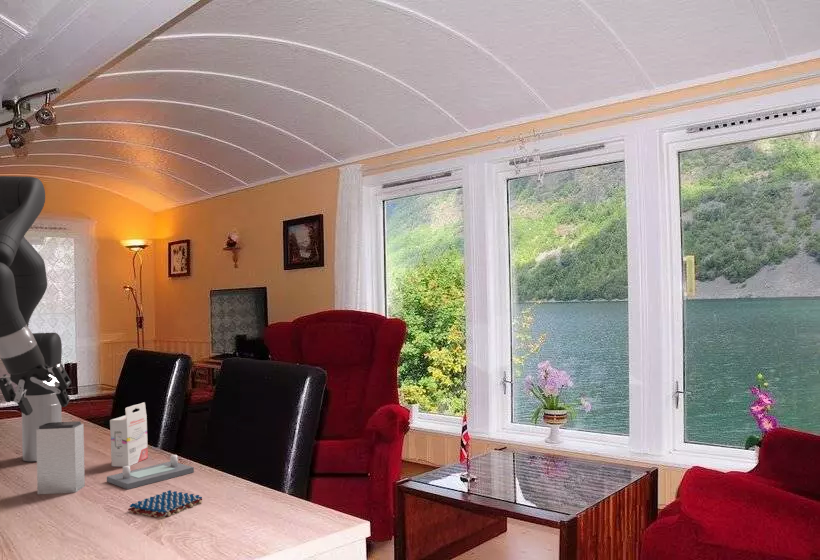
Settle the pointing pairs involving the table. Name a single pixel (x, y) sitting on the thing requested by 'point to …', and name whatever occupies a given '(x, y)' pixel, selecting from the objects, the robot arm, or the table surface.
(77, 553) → the table surface
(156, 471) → the pin tray
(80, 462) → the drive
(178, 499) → the woven mat
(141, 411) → the ink cartridge box
